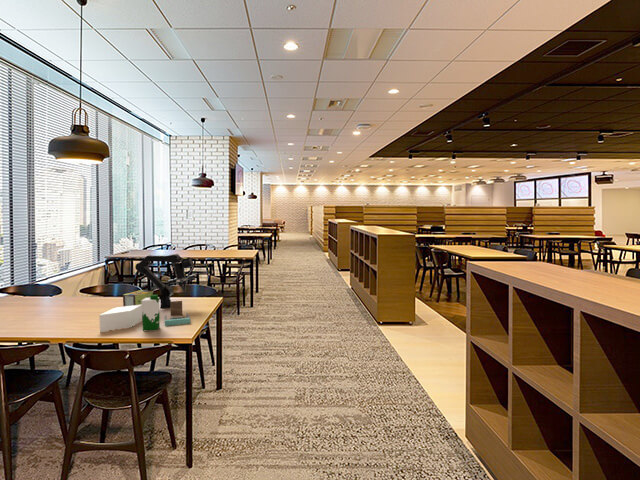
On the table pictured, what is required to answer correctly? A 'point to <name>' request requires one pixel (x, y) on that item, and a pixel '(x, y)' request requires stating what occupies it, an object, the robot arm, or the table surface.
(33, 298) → the table surface
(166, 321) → the bay
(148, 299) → the milk carton
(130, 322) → the white block
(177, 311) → the wooden drawer
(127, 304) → the protein box
